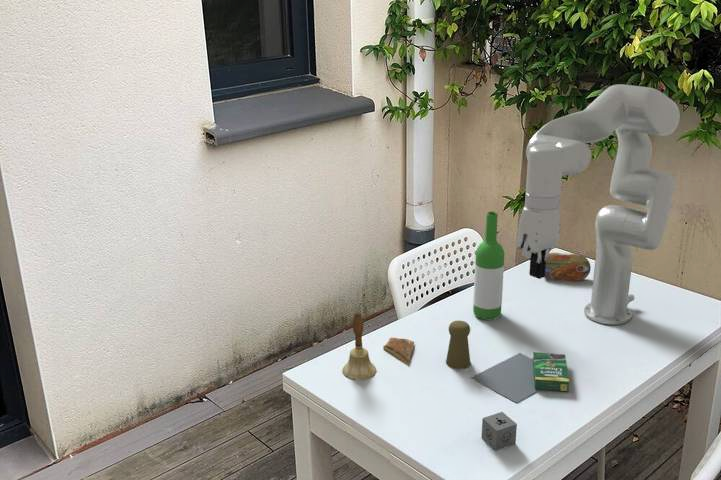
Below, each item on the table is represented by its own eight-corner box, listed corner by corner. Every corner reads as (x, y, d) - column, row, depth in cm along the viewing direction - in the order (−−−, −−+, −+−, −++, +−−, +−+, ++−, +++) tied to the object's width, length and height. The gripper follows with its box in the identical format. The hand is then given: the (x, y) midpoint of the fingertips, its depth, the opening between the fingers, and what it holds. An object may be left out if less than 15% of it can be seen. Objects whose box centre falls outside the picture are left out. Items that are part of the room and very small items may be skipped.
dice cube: (495, 451, 156) (496, 430, 154) (481, 438, 160) (482, 418, 158) (515, 444, 158) (516, 424, 156) (500, 431, 162) (502, 411, 160)
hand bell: (370, 382, 181) (370, 322, 175) (337, 377, 183) (336, 317, 177) (380, 364, 188) (379, 306, 182) (348, 360, 190) (346, 302, 185)
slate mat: (519, 353, 192) (519, 352, 192) (565, 375, 182) (565, 375, 182) (470, 378, 182) (470, 377, 181) (516, 403, 171) (516, 402, 171)
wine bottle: (487, 323, 207) (493, 220, 196) (467, 313, 213) (471, 212, 202) (506, 315, 212) (513, 213, 201) (486, 305, 217) (491, 206, 207)
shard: (408, 366, 188) (408, 360, 187) (378, 363, 189) (378, 357, 189) (415, 345, 198) (415, 339, 197) (386, 342, 199) (386, 336, 199)
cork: (456, 354, 192) (457, 315, 188) (475, 362, 188) (477, 322, 184) (440, 362, 188) (441, 323, 184) (460, 371, 184) (461, 331, 180)
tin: (538, 279, 234) (540, 254, 231) (538, 275, 237) (540, 250, 234) (589, 282, 232) (592, 256, 229) (588, 278, 234) (590, 252, 231)
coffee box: (567, 353, 186) (570, 382, 174) (566, 363, 187) (569, 392, 175) (533, 350, 187) (534, 378, 175) (532, 361, 188) (533, 389, 176)
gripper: (549, 189, 176) (544, 262, 182) (507, 204, 167) (502, 280, 174) (577, 197, 170) (570, 272, 177) (534, 212, 161) (529, 290, 168)
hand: (536, 276), depth 175 cm, fingers closed
